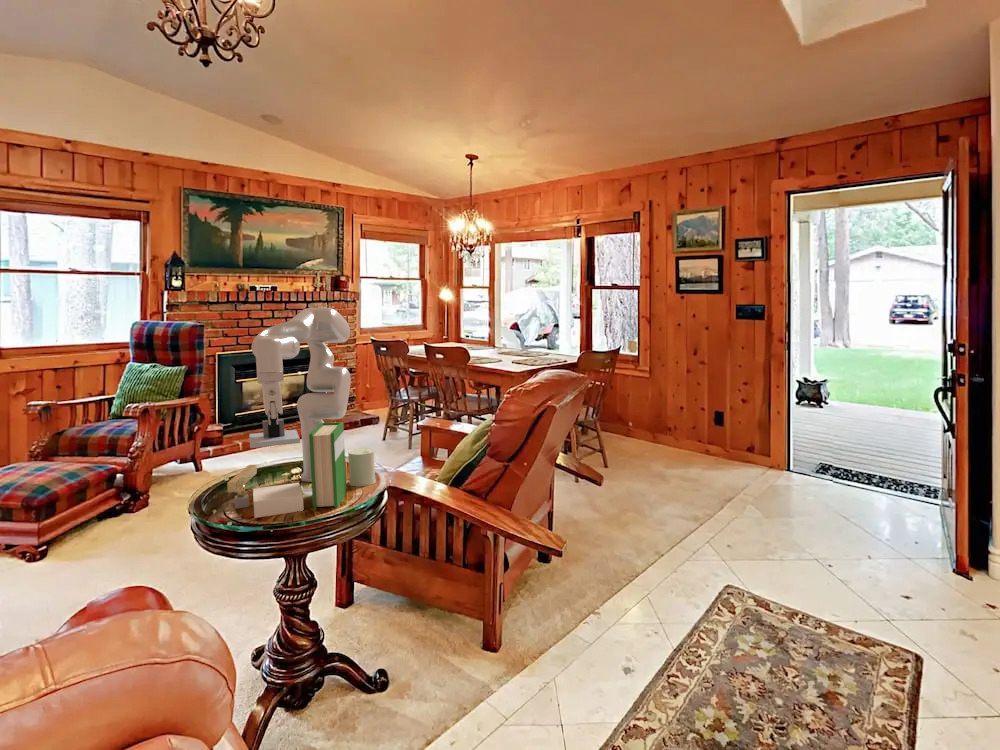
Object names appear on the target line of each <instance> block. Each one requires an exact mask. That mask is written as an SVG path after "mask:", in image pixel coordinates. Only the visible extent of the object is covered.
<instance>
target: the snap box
mask: <svg viewBox="0 0 1000 750" xmlns="http://www.w3.org/2000/svg"><path fill="white" fill-rule="evenodd" d="M300 484H301V483H299V482H294V483H287V484H280V485H279V484H278V485H271V486H264V487H263V486H262V487H255V488H252V496H253V497H252V498H253V515H254V516H253V517H254V519H256V518H263V517H270V516H276V515H284V514H290V513H291V514H292V513H297V511H298V512H304V511H305V510H304V494H303V491H302V488H301V485H300ZM233 501H234V509H242V508H249V507H250V500H249V493H245V496H244V497H237V495H234V500H233ZM303 510H304V511H303Z"/></svg>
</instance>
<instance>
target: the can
mask: <svg viewBox="0 0 1000 750" xmlns="http://www.w3.org/2000/svg"><path fill="white" fill-rule="evenodd" d="M347 454H348V466H349V467H348V468H349V470H348V471H349V485H350V486H352V487H367V486H371V485H374V484H376V482H377V480H376V471H375V470H376V467H375V466H376V465H375V449H373V448H370V447H369V448H363V447H362V448H355V449H351V450H349V451H348V452H347Z"/></svg>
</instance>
